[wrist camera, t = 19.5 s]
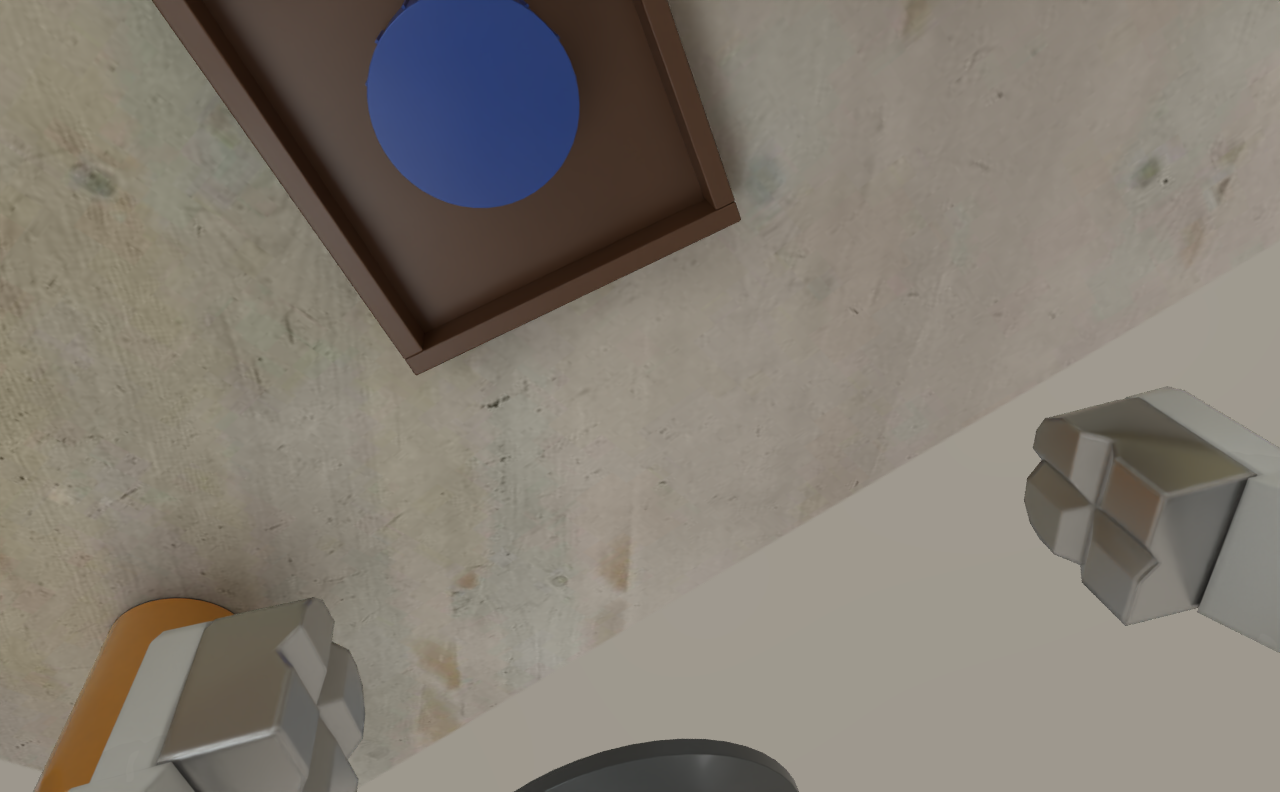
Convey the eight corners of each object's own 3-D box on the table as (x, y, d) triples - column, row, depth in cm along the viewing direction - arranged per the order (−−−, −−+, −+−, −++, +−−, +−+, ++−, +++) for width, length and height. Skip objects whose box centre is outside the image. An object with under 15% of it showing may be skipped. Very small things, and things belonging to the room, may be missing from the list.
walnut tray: (724, 203, 30) (742, 220, 28) (417, 350, 30) (415, 376, 29) (554, -288, 21) (564, -306, 20) (127, -73, 22) (100, -72, 20)
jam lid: (401, -56, 23) (395, -53, 20) (592, 28, 25) (610, 41, 22) (355, 144, 25) (344, 171, 23) (532, 203, 28) (542, 234, 25)
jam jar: (279, 652, 37) (219, 919, 27) (171, 703, 37) (71, 987, 27) (194, 578, 34) (89, 850, 24) (75, 634, 34) (-78, 928, 24)
